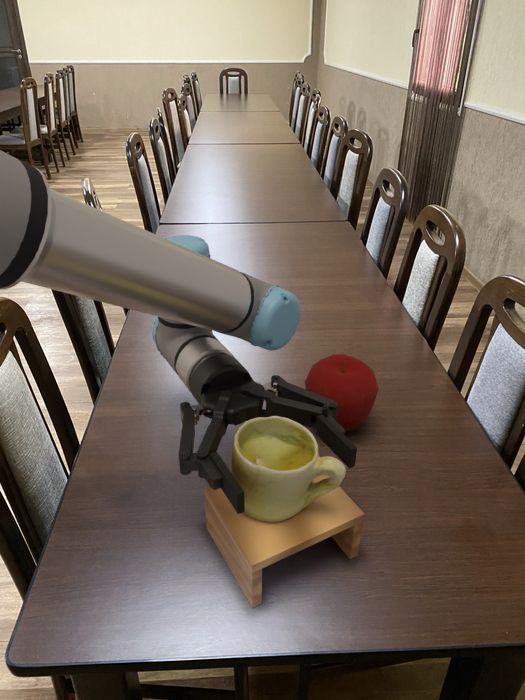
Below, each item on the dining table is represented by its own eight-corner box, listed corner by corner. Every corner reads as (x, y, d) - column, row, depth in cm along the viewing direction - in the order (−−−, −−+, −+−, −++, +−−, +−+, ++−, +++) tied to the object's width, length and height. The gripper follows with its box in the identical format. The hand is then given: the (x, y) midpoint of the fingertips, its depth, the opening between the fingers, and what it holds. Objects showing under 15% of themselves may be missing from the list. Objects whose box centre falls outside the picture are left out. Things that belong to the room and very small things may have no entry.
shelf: (252, 608, 57) (252, 565, 53) (206, 528, 66) (203, 487, 62) (358, 555, 63) (364, 513, 59) (303, 488, 72) (305, 448, 68)
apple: (299, 403, 88) (303, 341, 82) (364, 402, 88) (372, 341, 82) (306, 448, 79) (310, 382, 72) (379, 447, 79) (389, 381, 73)
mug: (196, 499, 58) (225, 422, 55) (243, 466, 67) (270, 398, 64) (292, 566, 54) (330, 487, 50) (328, 521, 63) (362, 451, 59)
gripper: (293, 376, 78) (389, 466, 62) (125, 427, 68) (189, 551, 52) (295, 331, 74) (398, 415, 58) (117, 378, 64) (183, 496, 48)
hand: (300, 479), depth 55 cm, fingers open, 13 cm apart
